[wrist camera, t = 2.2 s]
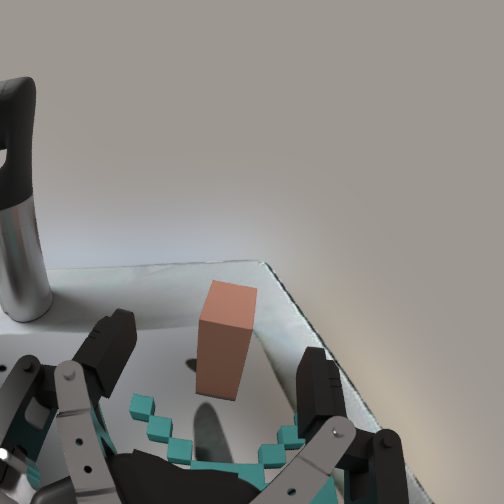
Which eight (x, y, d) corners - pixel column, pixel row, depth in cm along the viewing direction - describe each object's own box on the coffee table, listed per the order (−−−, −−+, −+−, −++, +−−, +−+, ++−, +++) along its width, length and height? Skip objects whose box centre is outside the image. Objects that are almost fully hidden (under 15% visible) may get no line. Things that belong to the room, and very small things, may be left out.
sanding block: (195, 393, 27) (199, 319, 22) (205, 356, 33) (212, 280, 27) (234, 401, 27) (252, 329, 22) (240, 363, 33) (257, 288, 27)
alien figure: (136, 403, 25) (112, 561, 7) (133, 393, 24) (106, 563, 6) (311, 416, 27) (338, 564, 10) (317, 407, 26) (348, 565, 9)
